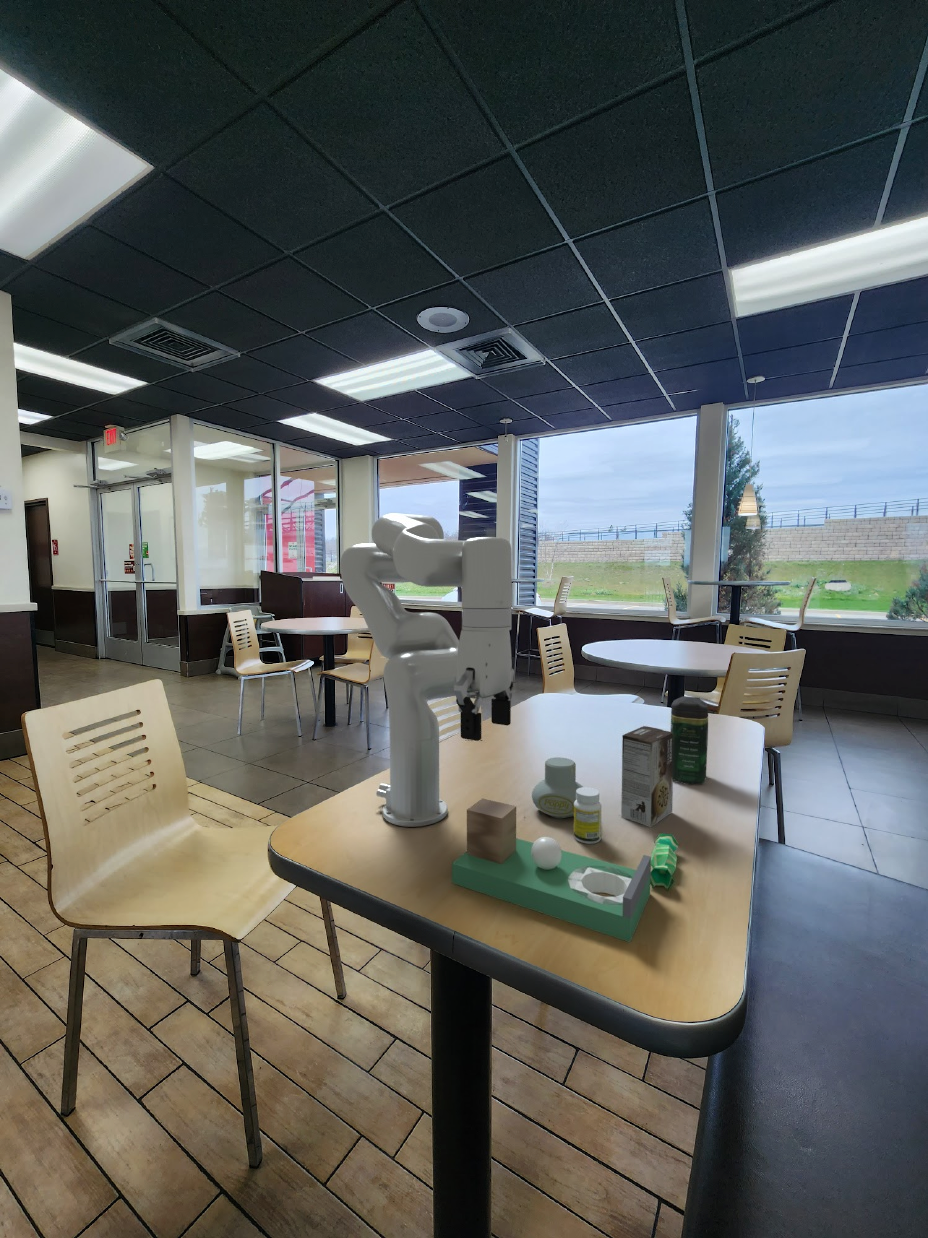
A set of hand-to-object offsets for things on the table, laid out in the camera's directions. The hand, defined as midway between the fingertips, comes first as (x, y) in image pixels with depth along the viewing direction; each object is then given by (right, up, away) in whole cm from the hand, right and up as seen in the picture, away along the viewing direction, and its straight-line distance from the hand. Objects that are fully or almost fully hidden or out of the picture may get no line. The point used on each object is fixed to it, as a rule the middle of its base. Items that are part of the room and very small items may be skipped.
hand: (486, 731), depth 81 cm
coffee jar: (+48, -20, +40) cm, 66 cm away
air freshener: (+15, -21, +23) cm, 34 cm away
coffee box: (+32, -21, +21) cm, 43 cm away
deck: (+9, -22, -4) cm, 24 cm away
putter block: (+1, -19, +1) cm, 19 cm away
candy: (+28, -22, +1) cm, 35 cm away
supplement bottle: (+18, -21, +12) cm, 30 cm away
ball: (+9, -17, -4) cm, 19 cm away
